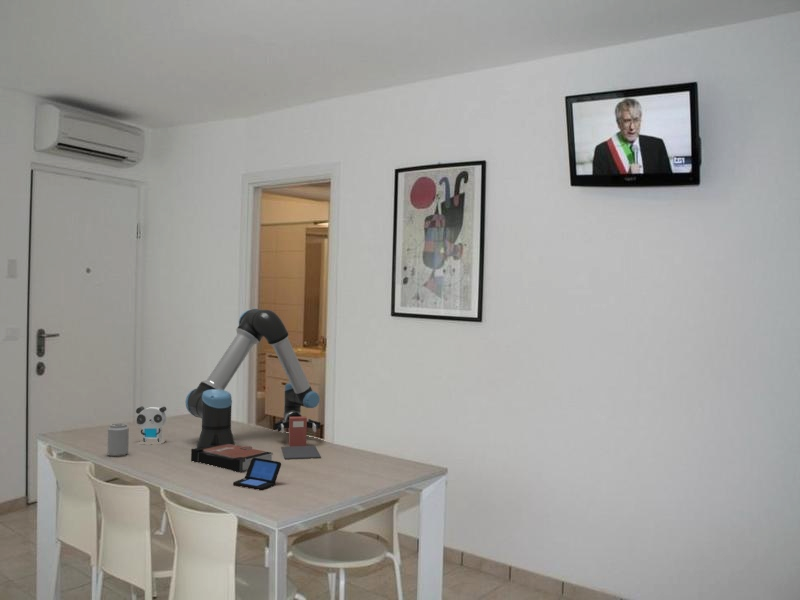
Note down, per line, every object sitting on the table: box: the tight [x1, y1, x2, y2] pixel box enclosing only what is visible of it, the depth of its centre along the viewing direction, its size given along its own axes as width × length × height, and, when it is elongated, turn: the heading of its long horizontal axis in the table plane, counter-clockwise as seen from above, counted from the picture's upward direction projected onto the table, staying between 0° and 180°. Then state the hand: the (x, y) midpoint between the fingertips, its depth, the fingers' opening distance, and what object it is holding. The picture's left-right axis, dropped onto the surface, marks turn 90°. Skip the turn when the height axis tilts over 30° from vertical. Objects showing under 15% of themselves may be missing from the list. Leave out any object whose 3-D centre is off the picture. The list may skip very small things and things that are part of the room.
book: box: [190, 443, 274, 473], centre depth 255 cm, size 26×18×5 cm
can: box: [107, 422, 130, 457], centre depth 263 cm, size 8×8×12 cm
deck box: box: [288, 415, 308, 446], centre depth 285 cm, size 4×7×12 cm, turn 104°
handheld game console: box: [232, 458, 282, 491], centre depth 226 cm, size 12×11×7 cm
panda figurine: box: [135, 406, 167, 442], centre depth 286 cm, size 12×11×15 cm
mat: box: [280, 445, 322, 460], centre depth 272 cm, size 20×14×1 cm
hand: (299, 429), depth 285 cm, fingers open, 13 cm apart
